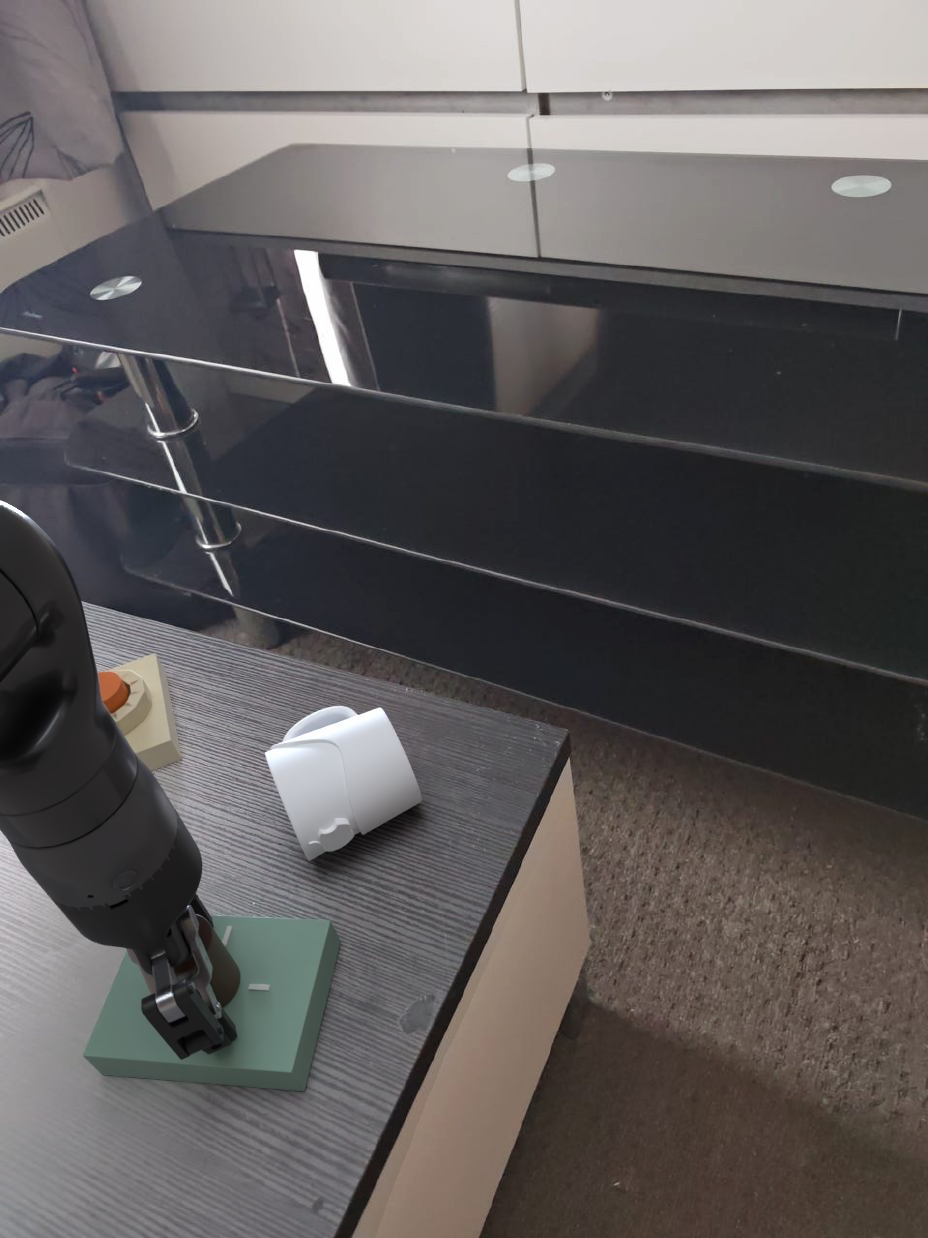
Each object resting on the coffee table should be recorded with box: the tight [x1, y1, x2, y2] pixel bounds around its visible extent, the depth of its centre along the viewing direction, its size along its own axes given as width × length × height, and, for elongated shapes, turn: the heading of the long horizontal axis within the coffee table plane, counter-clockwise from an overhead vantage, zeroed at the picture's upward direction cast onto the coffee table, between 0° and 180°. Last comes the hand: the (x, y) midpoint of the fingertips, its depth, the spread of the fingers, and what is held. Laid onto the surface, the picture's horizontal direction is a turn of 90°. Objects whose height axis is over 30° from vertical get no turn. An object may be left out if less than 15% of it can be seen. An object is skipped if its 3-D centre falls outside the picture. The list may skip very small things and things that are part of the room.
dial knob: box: [174, 914, 240, 1008], centre depth 58 cm, size 4×4×6 cm
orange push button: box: [98, 670, 129, 714], centre depth 79 cm, size 4×4×2 cm
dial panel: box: [82, 914, 342, 1092], centre depth 61 cm, size 14×10×3 cm
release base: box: [103, 653, 183, 772], centre depth 81 cm, size 12×9×4 cm
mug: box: [264, 705, 422, 862], centre depth 70 cm, size 12×9×8 cm
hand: (209, 984), depth 60 cm, fingers open, 7 cm apart
